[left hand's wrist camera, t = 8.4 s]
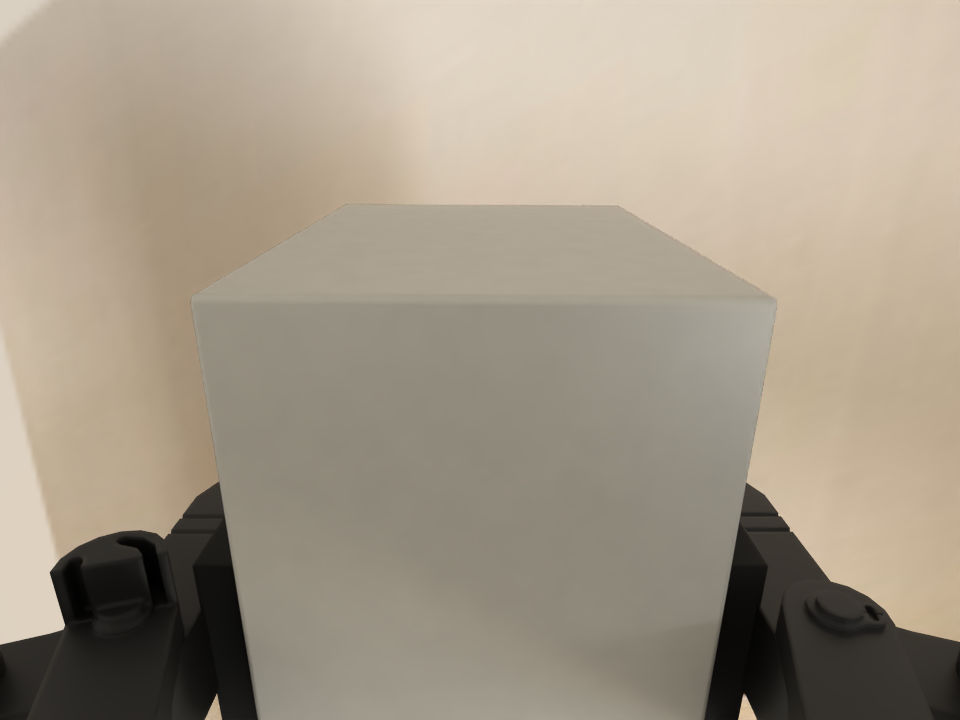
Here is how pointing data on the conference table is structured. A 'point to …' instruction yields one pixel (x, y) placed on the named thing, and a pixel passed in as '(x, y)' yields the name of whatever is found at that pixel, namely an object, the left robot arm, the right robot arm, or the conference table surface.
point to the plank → (482, 461)
